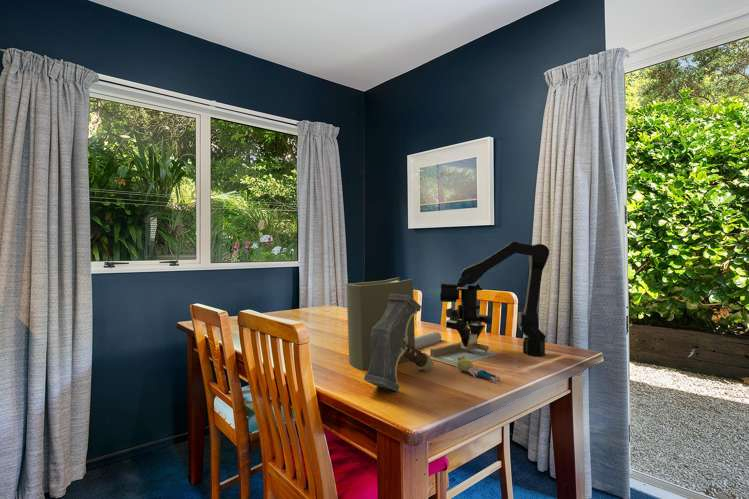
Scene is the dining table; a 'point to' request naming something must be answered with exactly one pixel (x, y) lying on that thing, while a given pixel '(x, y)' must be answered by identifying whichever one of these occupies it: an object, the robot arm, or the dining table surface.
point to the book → (371, 315)
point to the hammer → (394, 343)
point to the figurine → (474, 369)
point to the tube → (427, 339)
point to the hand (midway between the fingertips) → (469, 345)
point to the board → (457, 354)
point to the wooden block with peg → (474, 344)
